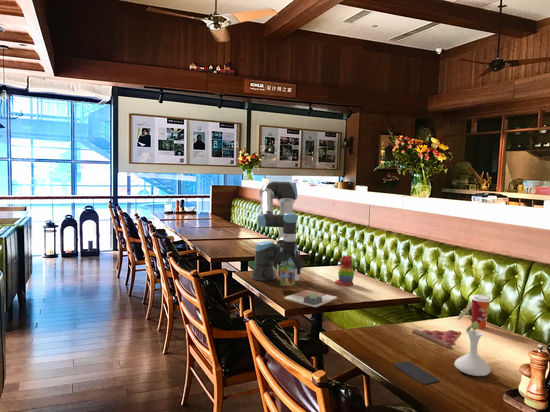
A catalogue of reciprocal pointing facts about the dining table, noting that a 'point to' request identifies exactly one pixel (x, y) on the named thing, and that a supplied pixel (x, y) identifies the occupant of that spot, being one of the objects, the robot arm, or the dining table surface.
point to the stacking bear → (345, 272)
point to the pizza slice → (439, 336)
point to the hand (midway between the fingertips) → (287, 277)
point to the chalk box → (287, 274)
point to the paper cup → (480, 309)
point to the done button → (313, 296)
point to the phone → (416, 373)
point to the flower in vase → (472, 351)
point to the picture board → (304, 298)
